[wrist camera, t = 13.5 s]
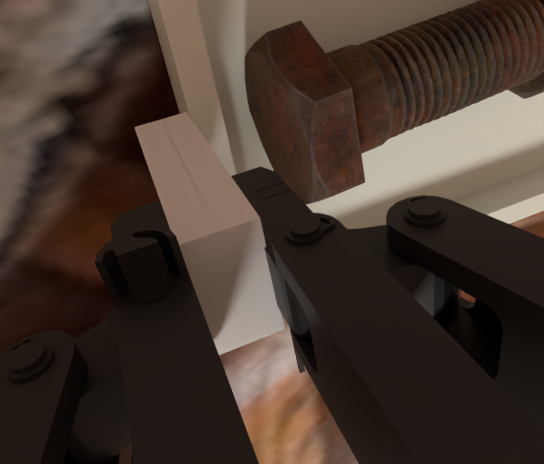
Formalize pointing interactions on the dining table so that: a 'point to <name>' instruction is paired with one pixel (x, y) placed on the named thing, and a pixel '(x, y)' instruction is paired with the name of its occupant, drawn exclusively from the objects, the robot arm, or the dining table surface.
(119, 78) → the dining table surface
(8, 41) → the dining table surface
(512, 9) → the bolt
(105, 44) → the dining table surface
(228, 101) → the tray
